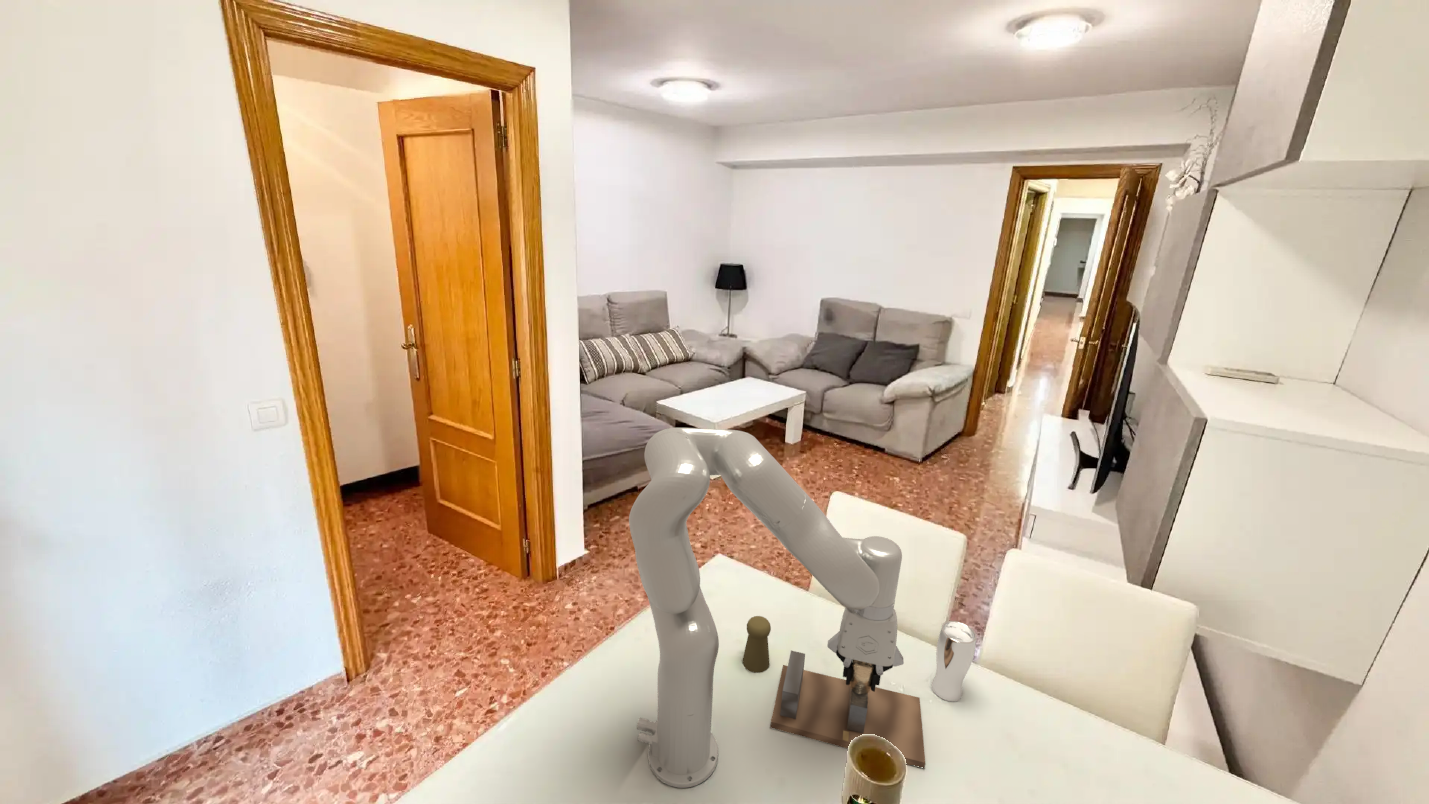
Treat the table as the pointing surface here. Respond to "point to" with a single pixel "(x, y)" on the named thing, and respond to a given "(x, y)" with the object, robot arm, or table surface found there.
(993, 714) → the table surface
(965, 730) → the table surface
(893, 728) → the base
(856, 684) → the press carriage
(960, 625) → the beer glass
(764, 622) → the olive brown pawn
